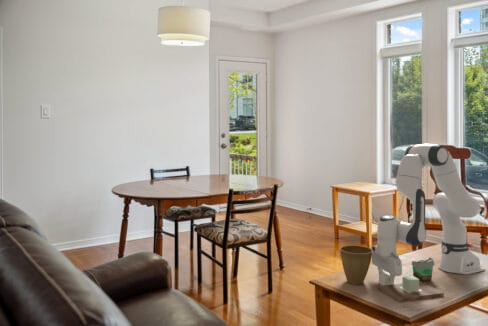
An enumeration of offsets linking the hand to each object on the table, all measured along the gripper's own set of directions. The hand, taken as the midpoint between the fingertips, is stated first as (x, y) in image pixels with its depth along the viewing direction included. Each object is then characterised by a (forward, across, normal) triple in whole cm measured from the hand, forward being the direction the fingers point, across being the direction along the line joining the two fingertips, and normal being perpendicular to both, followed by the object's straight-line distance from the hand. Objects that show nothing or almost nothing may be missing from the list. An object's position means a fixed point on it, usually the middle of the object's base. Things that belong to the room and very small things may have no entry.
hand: (386, 279), depth 222 cm
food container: (+2, -2, -20) cm, 20 cm away
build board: (+2, -13, -4) cm, 14 cm away
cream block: (+2, 0, 0) cm, 2 cm away
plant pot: (+2, +7, +12) cm, 14 cm away
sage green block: (0, -13, -4) cm, 14 cm away
